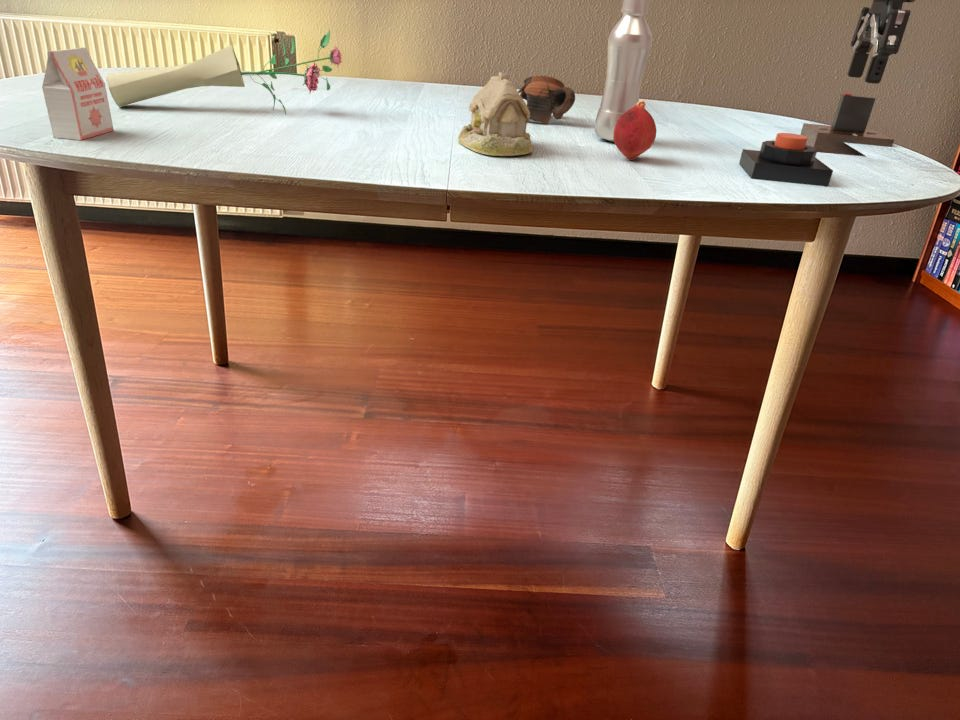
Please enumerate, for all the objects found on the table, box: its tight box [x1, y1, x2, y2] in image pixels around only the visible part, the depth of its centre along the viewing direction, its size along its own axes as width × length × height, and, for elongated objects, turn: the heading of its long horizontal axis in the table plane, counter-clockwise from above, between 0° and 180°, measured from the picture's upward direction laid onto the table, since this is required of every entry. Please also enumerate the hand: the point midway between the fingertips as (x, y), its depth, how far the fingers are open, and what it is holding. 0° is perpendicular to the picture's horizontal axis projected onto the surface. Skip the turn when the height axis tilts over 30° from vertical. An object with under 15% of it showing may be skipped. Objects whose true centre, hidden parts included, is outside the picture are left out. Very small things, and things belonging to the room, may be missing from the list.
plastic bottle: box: [594, 0, 654, 143], centre depth 104 cm, size 6×7×20 cm
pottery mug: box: [517, 75, 576, 125], centre depth 120 cm, size 12×10×8 cm
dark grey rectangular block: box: [830, 92, 877, 133], centre depth 114 cm, size 5×2×6 cm, turn 82°
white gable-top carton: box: [41, 47, 114, 141], centre depth 86 cm, size 4×7×10 cm, turn 172°
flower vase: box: [105, 29, 343, 116], centre depth 108 cm, size 12×12×35 cm
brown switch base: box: [799, 122, 895, 157], centre depth 116 cm, size 12×9×3 cm
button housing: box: [738, 140, 834, 188], centre depth 94 cm, size 10×9×4 cm
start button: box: [774, 132, 808, 150], centre depth 93 cm, size 4×4×2 cm
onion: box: [613, 100, 657, 161], centre depth 95 cm, size 6×6×8 cm
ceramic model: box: [457, 71, 534, 157], centre depth 97 cm, size 14×11×10 cm
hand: (862, 79), depth 111 cm, fingers open, 8 cm apart
